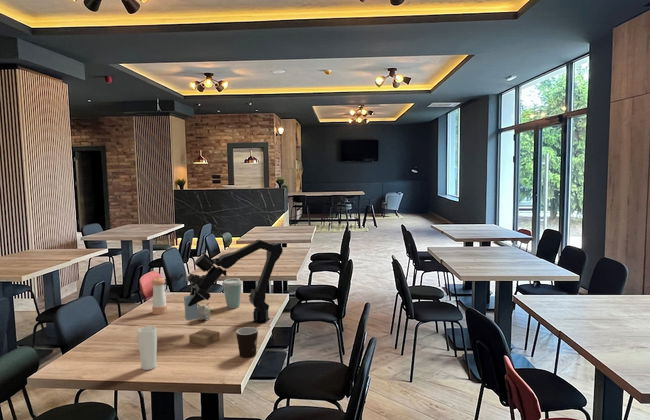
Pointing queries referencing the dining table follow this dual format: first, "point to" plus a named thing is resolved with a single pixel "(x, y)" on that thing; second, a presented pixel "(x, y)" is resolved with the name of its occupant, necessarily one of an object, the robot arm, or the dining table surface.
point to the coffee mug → (247, 341)
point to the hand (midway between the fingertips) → (187, 304)
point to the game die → (203, 312)
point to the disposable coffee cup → (232, 292)
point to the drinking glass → (147, 346)
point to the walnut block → (204, 337)
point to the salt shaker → (159, 296)
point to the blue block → (190, 308)
